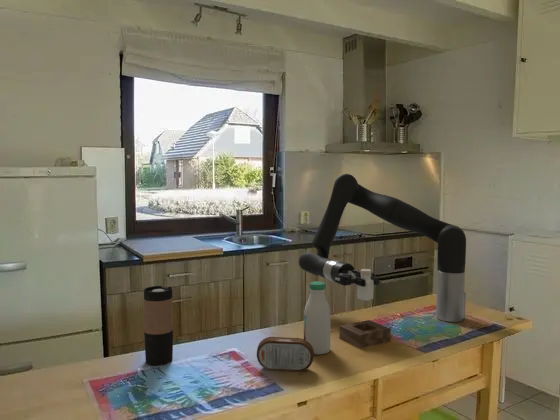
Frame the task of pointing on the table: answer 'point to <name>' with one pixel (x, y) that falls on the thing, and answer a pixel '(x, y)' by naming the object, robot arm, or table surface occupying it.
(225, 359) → the table surface
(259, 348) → the tin
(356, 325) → the walnut stand
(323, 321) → the milk bottle
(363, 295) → the salt shaker
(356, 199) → the robot arm
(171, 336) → the travel mug
